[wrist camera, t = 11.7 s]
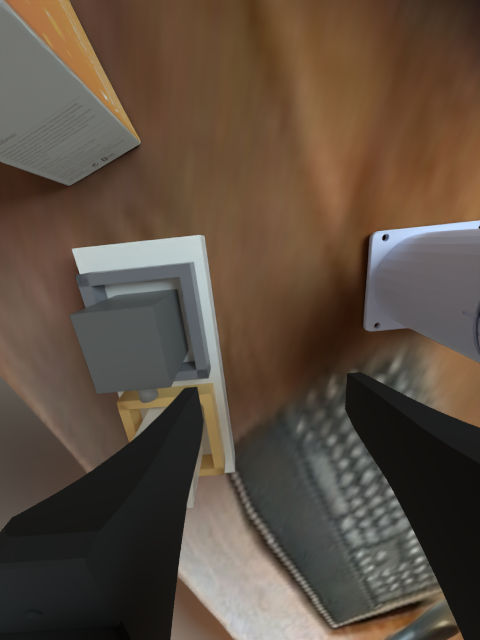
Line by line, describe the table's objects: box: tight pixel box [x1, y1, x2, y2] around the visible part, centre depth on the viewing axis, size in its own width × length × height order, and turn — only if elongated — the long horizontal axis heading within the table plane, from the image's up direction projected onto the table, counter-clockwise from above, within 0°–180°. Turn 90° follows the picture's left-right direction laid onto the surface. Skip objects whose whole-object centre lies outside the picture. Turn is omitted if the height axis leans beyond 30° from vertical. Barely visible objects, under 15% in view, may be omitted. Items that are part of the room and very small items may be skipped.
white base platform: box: [72, 235, 235, 476], centre depth 19 cm, size 9×22×4 cm, turn 6°
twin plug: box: [70, 289, 189, 403], centre depth 16 cm, size 4×7×5 cm
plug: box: [133, 406, 204, 508], centre depth 19 cm, size 4×7×5 cm
